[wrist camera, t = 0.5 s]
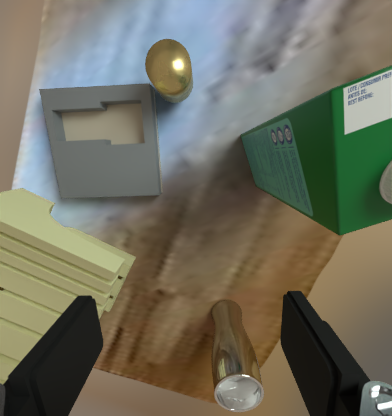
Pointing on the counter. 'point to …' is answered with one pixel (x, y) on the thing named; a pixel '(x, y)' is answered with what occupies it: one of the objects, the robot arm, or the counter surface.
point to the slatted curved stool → (47, 273)
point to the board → (104, 140)
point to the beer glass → (234, 361)
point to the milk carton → (331, 154)
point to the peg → (170, 70)
